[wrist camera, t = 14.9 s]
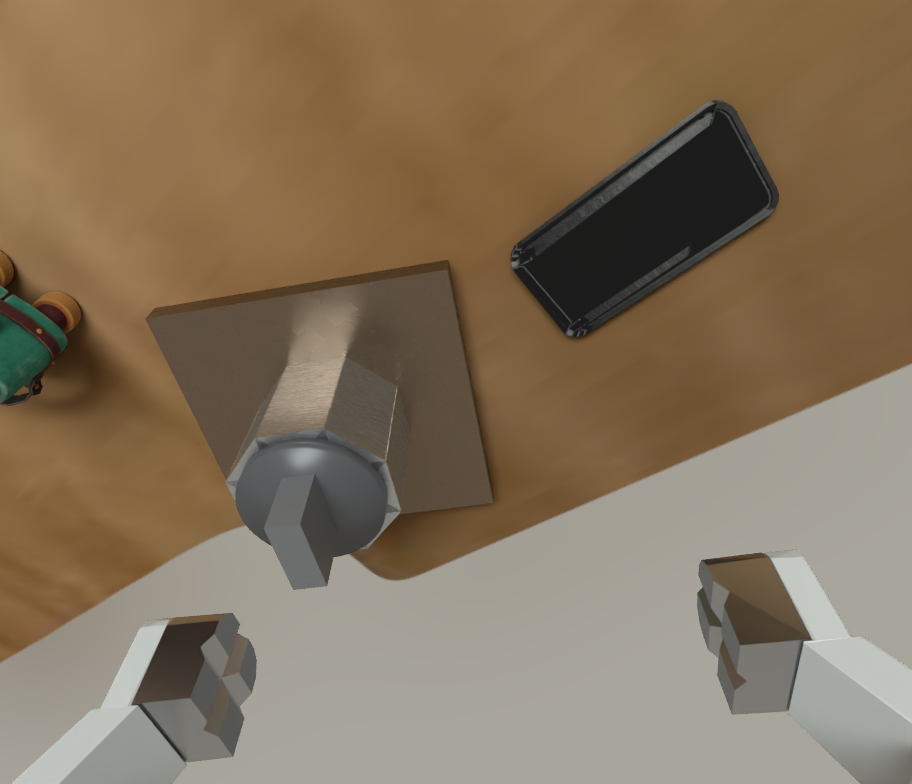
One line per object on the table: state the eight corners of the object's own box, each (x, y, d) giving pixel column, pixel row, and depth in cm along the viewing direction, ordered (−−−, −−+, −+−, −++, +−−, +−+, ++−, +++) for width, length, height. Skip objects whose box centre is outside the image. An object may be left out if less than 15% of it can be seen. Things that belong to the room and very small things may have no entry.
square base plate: (447, 260, 40) (444, 331, 32) (492, 489, 51) (498, 584, 43) (154, 308, 42) (84, 386, 35) (257, 519, 53) (222, 615, 45)
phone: (503, 258, 40) (726, 93, 34) (502, 251, 40) (719, 89, 35) (573, 344, 43) (786, 206, 37) (570, 336, 44) (778, 200, 38)
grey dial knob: (371, 407, 38) (354, 487, 32) (404, 515, 43) (394, 601, 37) (227, 427, 39) (186, 509, 33) (276, 530, 43) (247, 617, 38)
